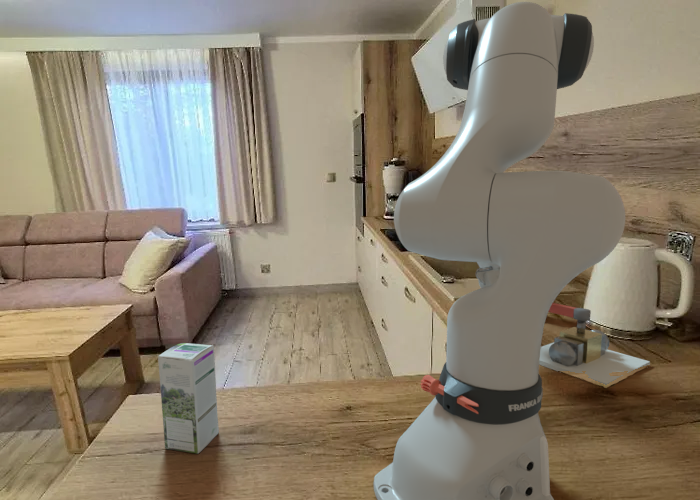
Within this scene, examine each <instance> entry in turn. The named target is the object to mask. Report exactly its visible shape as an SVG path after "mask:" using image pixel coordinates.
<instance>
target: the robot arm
mask: <svg viewBox="0 0 700 500" xmlns="http://www.w3.org/2000/svg"><path fill="white" fill-rule="evenodd" d="M594 48H595V39H594V33H593V26H592V23H591V22H590V20H589V18H588V17H587V16H586V15H580V14H577V13H569V12H568V13H567V12H565V13H564V14H563V15H557V14H550V12H549V11H548V10H547V9H546V8H545V7H543V6H542V5H540V4H538V3H534V2H531V1H517V2H514V3H511V4H508V5H506V6H503V7H502V8H500V9H498V10H497V11H496V12H494V14H493V15H492V16H491V17H488V18H484V19H480V20H479V19H478V20H477V19H476V18H473V19H469V20H466V21H463V22H460V23H458V24H457V25H455V27H454V28H453V29H452V30H451V31H450V32H449V35H448V39H447V41H446V44H445V45H444V49H443V57H442V59H443V63H442V64H443V69H444V72H445V75H446V81H447V82H448V83H449V84H450V85H451V86H452V87H453V88H455V89H460V90H464V91H467V92H466V99H465V104H464V110H463V113H462V118H461V122H460V125H459V129H458V131H457V133H456V135H455V138H454V139H453V141H452V142H451V144H450V146H449V147H448V148H447V150H446V151H444V154H443V155H442V156H441V157H440V158H439V160H437V161H436V163H435V164H434V165H433V166H432V167H431V168H429V169H428V170H427V171H425V172H424V173H423V174H422V175H420V176H418V177H417V178H416V179H414V180H413V181H411V182H409V183H408V184H407V185H406V186H405V187H404V188H403V190H402V191H401V192H400V193H399V196H398V198H397V200H396V203H395V206H394V210H393V211H394V212H393V223H394V229H395V232H396V236H397V238H398V240H399V241H400V243H401V244H402V246H403V247H404V248H405V249H406V250H407V251H408V252H411V253H415V254H418V255H420V256H424V257H425V256H426V257H429V258H431V259H437V260H442V261H454V262H455V261H457V262H470V263H472V262H473V263H477V265H478V268H477V269H476V271H475V274H474V275H475V277H476V279H477V280H478V281H477V282H478V285H479V287H480V288H478V289H475V290H473V291H472V290H471V292H469V293H465V294H464V295H462V296H460V297H459V298H458V299H456V301H454V302H453V304H452V305H451V307H450V308H449V310H448V313H447V316H446V317H447V318H446V319H447V321H446V358H445V360H446V361H445V362H444V364H443V365H442V370H441V373H440V375H439V378H438V379H435V378H434V376H432V375H431V374H425V375H424V376H423V377H422V378H421V380H420V384H419V385H420V389H421V390H423V391H424V392H426V393H430V395H432V396H435V397H434V398H433V399H432V400H431V402H430V403H429V404H428V405H427V406H426V407H425V408H424V409H423V410H422V412H421V413H420V414H419V415H418V416H417V418H416V419H415V420H414V421H413V422H412V423H411V424H410V425H409V427H408V428H407V429H406V430H405V431H404V432H403V434H401V436H400V437H399V438H398V439H397V441H396V444H395V445H396V446H395V448H394V453H393V460H392V462H391V463H390V464H388V465H387V466H386V467H384V468H383V469H381V470H380V471H379V472H377V473H376V474H375V476H374V477H373V492H374V495H375V497H376V499H377V500H555V499H554V497H553V496H552V494H551V488H550V487H551V485H550V464H549V463H550V461H549V460H550V459H549V457H550V456H549V443H548V440H547V436H546V434H545V432H544V428H543V426H542V423H541V419H540V416H539V412H540V411H541V408H542V400H543V395H544V391H543V390H544V389H543V379H542V376H541V375H540V372H539V371H540V370H539V369H540V365H539V359H540V349H541V347H542V341H543V335H544V334H543V333H544V328H545V323H546V319H547V317H548V314H549V312H548V311H549V309H550V307H551V305H552V303H555V302H554V301H555V300H556V298H557V297H558V295H560V293H561V292H562V290H563V289H564V288H566V286H567V285H568V284H570V282H571V281H572V280H574V279H575V278H576V277H577V276H579V275H580V274H582V273H583V272H584V271H586V270H588V269H589V268H591V267H593V266H595V265H597V264H599V263H600V262H602V261H603V260H604V259H606V258H607V257H608V256H609V255H610V254H611V253H612V252H613V251H614V250H615V248H616V247H617V245H618V244H619V243H620V241H621V239H622V236H623V233H624V230H625V226H626V210H625V205H624V202H623V199H622V197H621V195H620V193H619V191H618V190H617V188H616V187H615V186H614V185H613V183H612V182H611V181H610V180H608V179H607V178H606V177H605V176H601V175H595V174H589V173H588V174H587V173H583V172H575V171H567V170H566V171H565V170H557V169H556V170H533V171H532V170H531V171H511V172H510V171H508V172H506V170H508V169H509V168H511V167H512V166H514V165H515V164H517V163H519V162H521V161H524V160H525V159H527V158H529V157H530V156H532V155H534V154H535V153H536V152H537V151H539V150H540V149H541V148H542V147H543V145H545V143H546V142H547V140H548V139H549V138H550V136H551V135H552V133H553V130H554V127H555V119H556V107H557V106H556V104H557V92H558V90H559V89H564V88H566V87H567V88H568V87H570V86H571V87H572V86H574V84H576V83H577V82H578V81H579V80H580V79H581V78H582V77H583V75H584V73H585V71H586V70H587V67H588V66H589V64H590V62H591V60H592V57H593V53H594Z"/></svg>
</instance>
